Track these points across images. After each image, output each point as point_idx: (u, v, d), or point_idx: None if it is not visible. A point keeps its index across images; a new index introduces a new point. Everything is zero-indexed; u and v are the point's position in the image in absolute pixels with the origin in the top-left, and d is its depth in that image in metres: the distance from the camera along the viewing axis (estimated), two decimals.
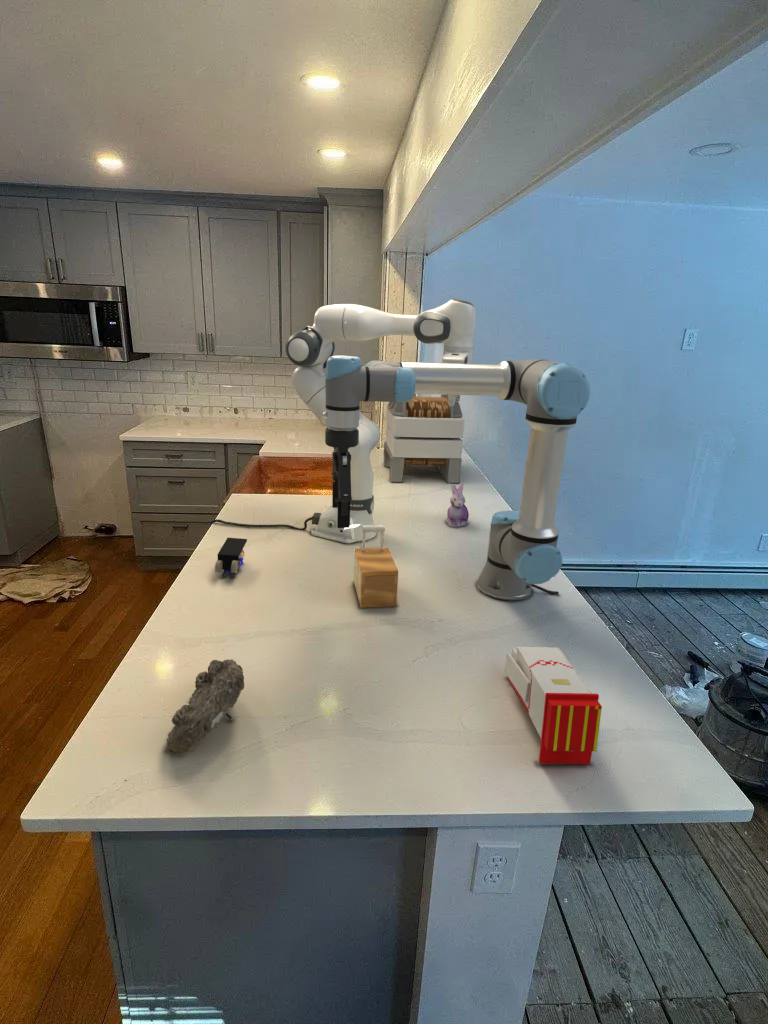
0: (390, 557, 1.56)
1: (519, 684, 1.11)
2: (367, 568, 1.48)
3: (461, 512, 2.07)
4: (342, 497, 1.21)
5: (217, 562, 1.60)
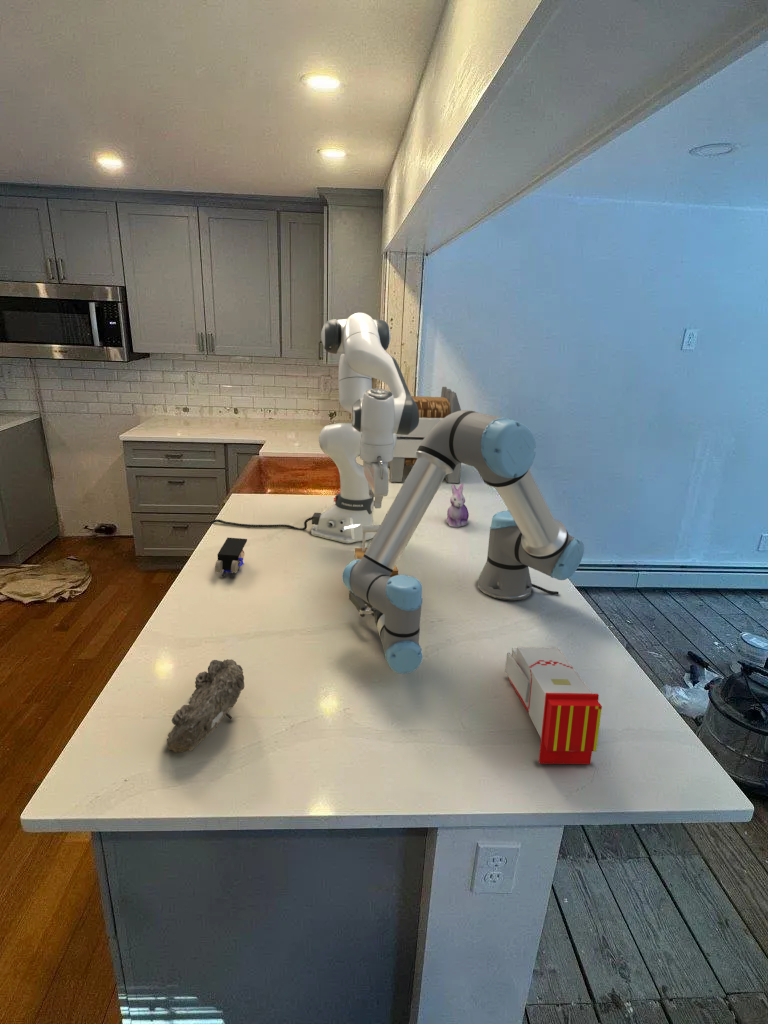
0: None
1: (519, 684, 1.11)
2: None
3: (461, 512, 2.07)
4: None
5: (217, 562, 1.60)
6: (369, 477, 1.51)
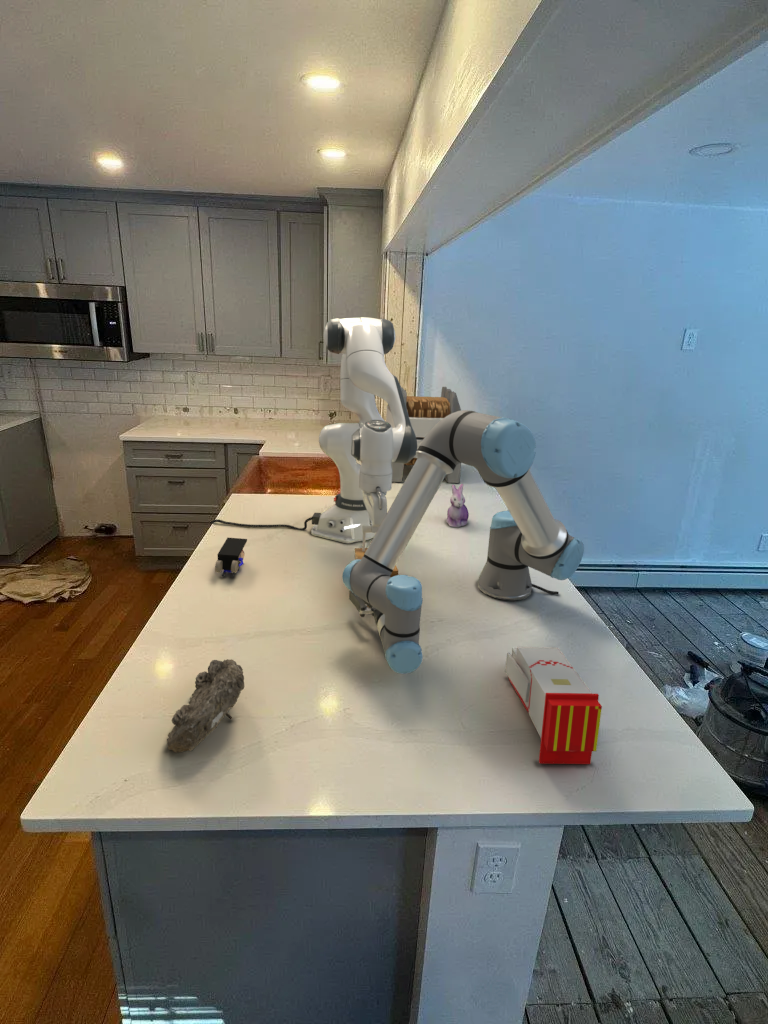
0: None
1: (519, 684, 1.11)
2: None
3: (461, 512, 2.07)
4: None
5: (217, 562, 1.60)
6: (368, 506, 1.54)
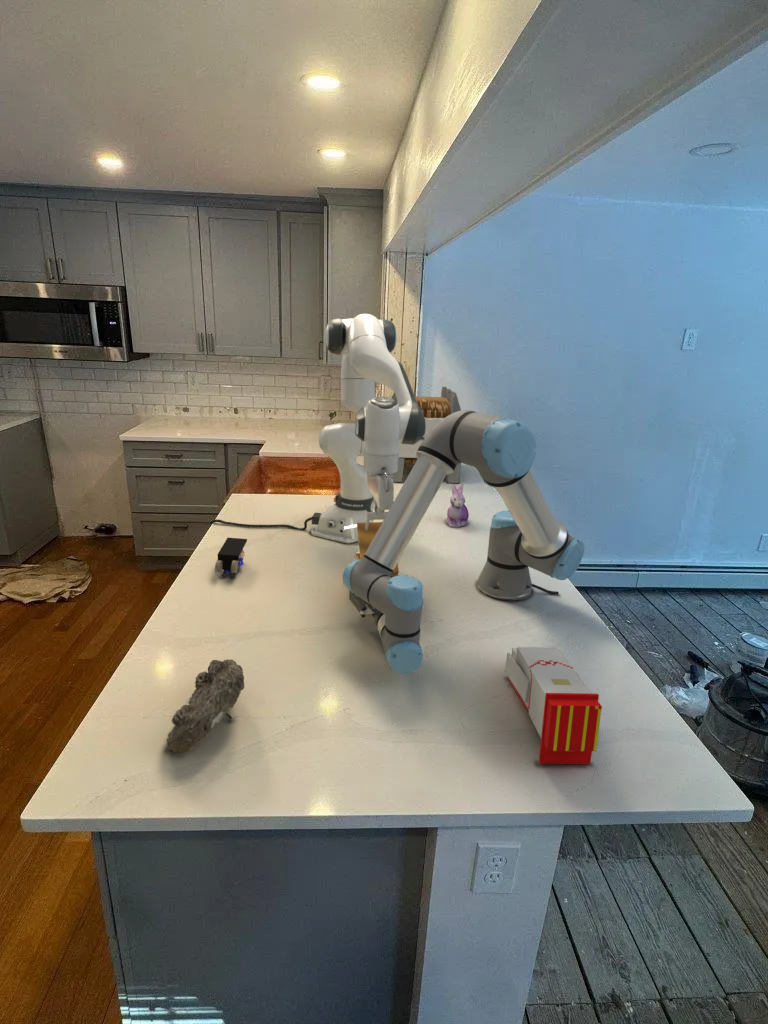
0: None
1: (519, 684, 1.11)
2: None
3: (461, 512, 2.07)
4: None
5: (217, 562, 1.60)
6: (373, 489, 1.45)
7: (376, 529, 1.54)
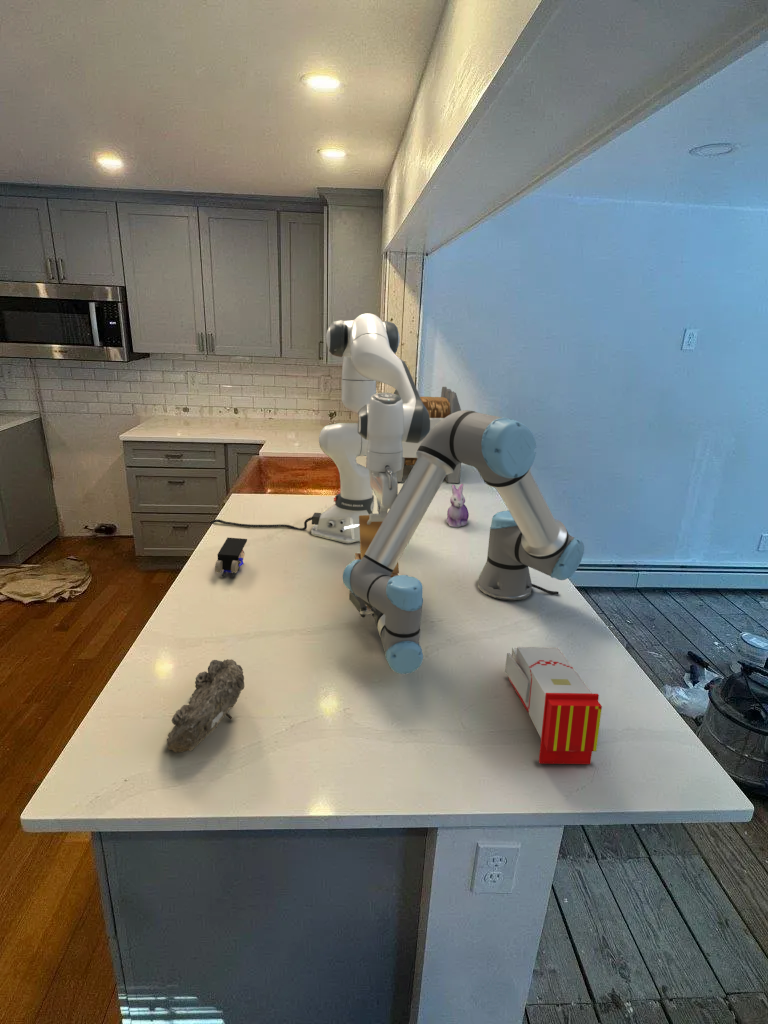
0: None
1: (519, 684, 1.11)
2: None
3: (461, 512, 2.07)
4: None
5: (217, 562, 1.60)
6: (376, 488, 1.40)
7: (378, 523, 1.50)
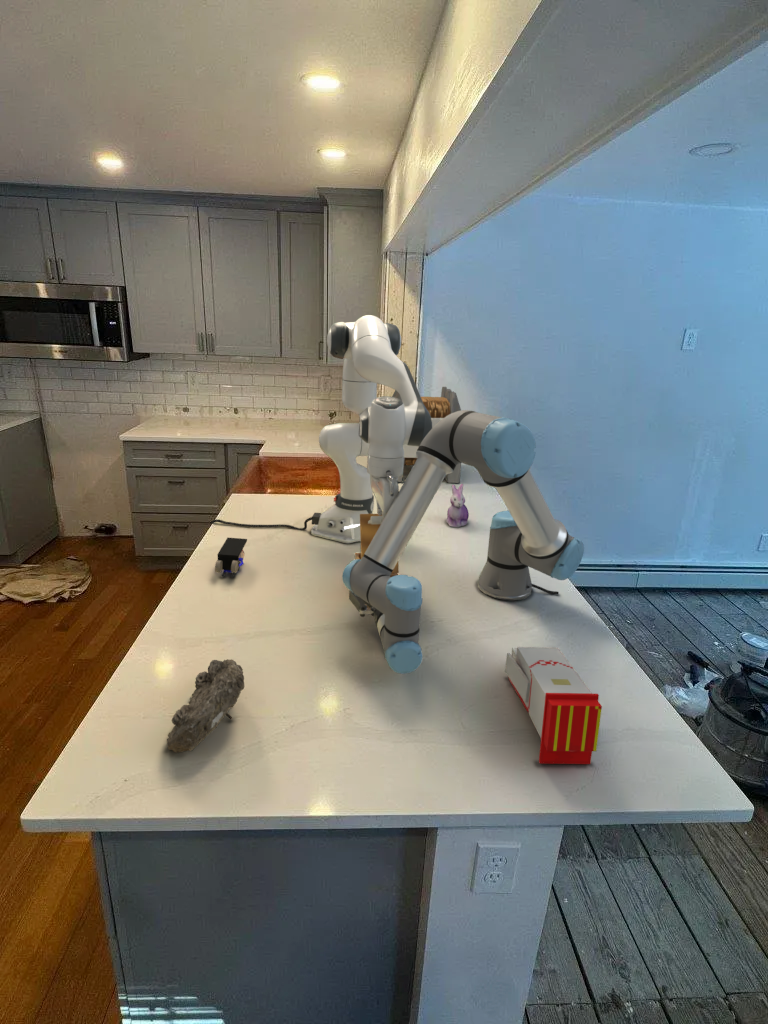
0: None
1: (519, 684, 1.11)
2: None
3: (461, 512, 2.07)
4: None
5: (217, 562, 1.60)
6: (377, 493, 1.39)
7: None
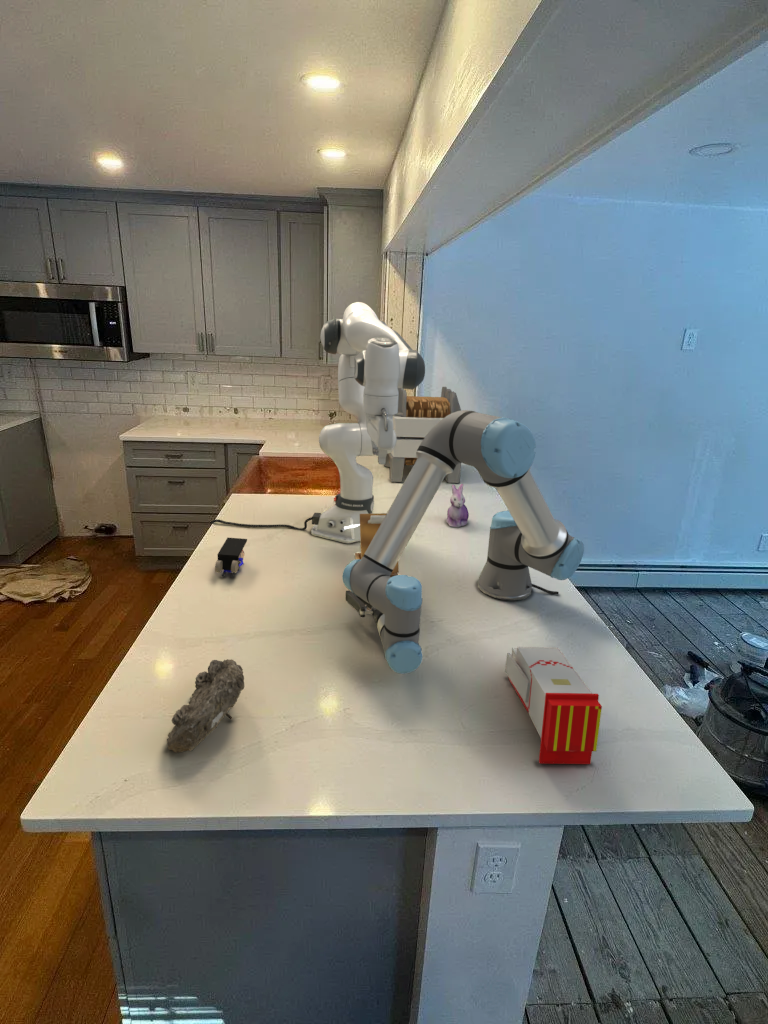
0: None
1: (519, 684, 1.11)
2: None
3: (461, 512, 2.07)
4: None
5: (217, 562, 1.60)
6: (372, 432, 1.44)
7: None
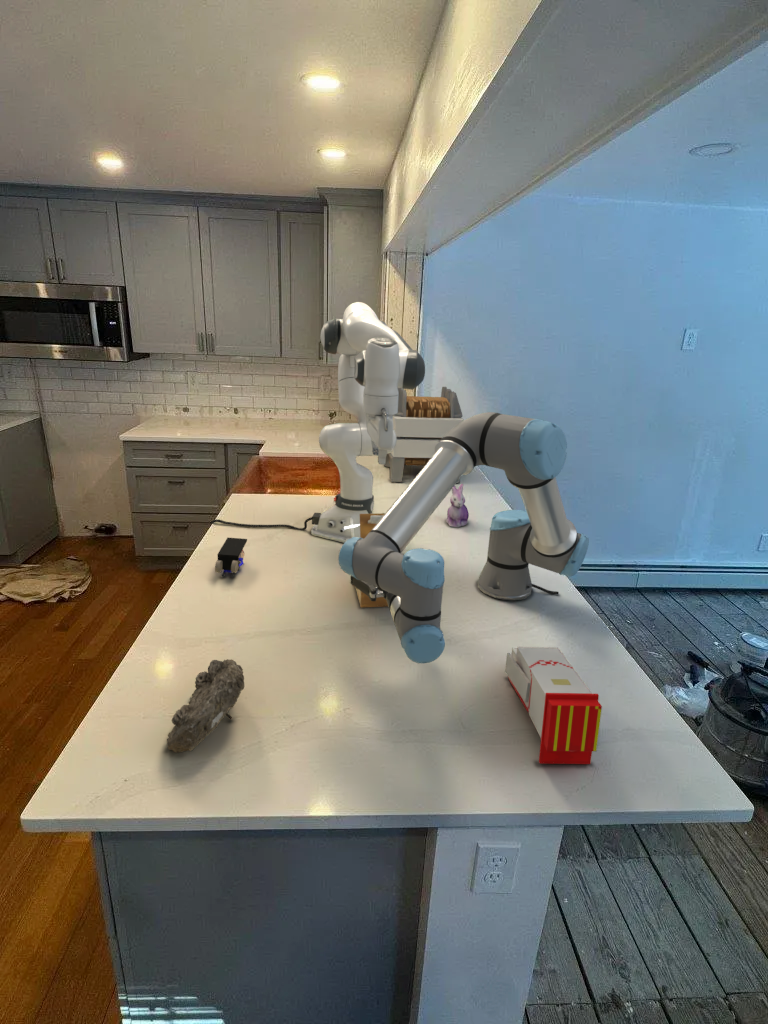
0: None
1: (519, 684, 1.11)
2: None
3: (461, 512, 2.07)
4: None
5: (217, 562, 1.60)
6: (372, 432, 1.44)
7: None
